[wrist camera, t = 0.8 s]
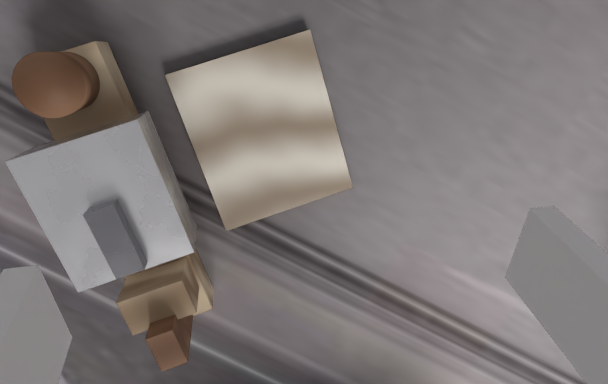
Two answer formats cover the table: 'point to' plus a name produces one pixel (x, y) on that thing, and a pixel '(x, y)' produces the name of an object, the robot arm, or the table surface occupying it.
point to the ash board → (262, 129)
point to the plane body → (90, 114)
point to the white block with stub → (107, 200)
